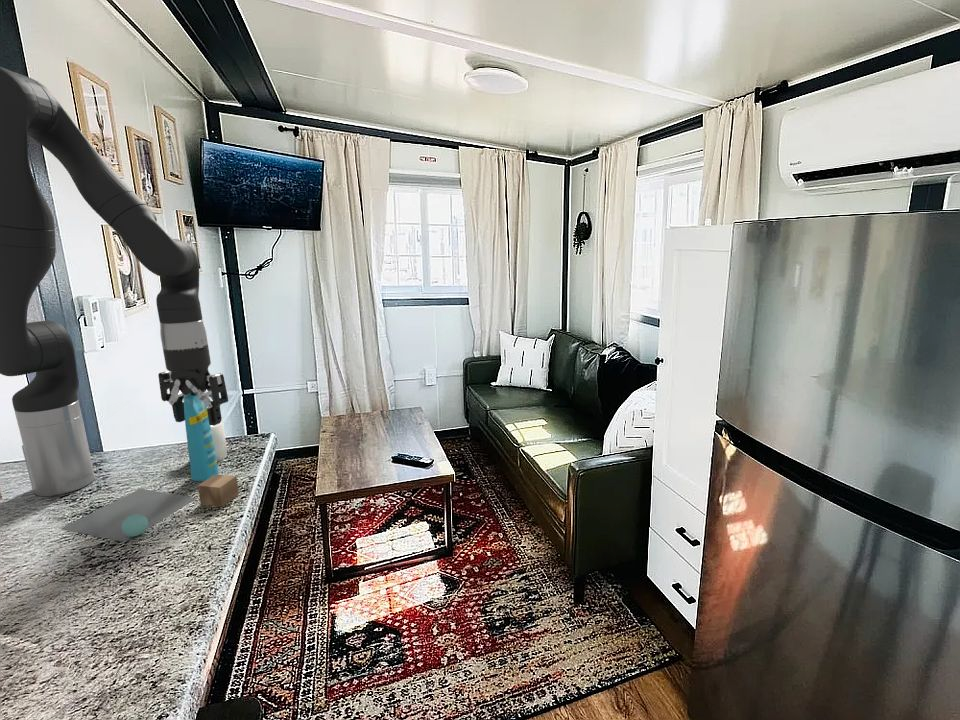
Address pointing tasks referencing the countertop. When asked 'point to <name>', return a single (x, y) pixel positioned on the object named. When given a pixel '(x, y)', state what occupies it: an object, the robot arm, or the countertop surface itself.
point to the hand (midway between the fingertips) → (198, 422)
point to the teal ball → (134, 525)
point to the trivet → (129, 513)
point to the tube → (199, 439)
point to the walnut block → (218, 490)
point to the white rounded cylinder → (219, 441)
